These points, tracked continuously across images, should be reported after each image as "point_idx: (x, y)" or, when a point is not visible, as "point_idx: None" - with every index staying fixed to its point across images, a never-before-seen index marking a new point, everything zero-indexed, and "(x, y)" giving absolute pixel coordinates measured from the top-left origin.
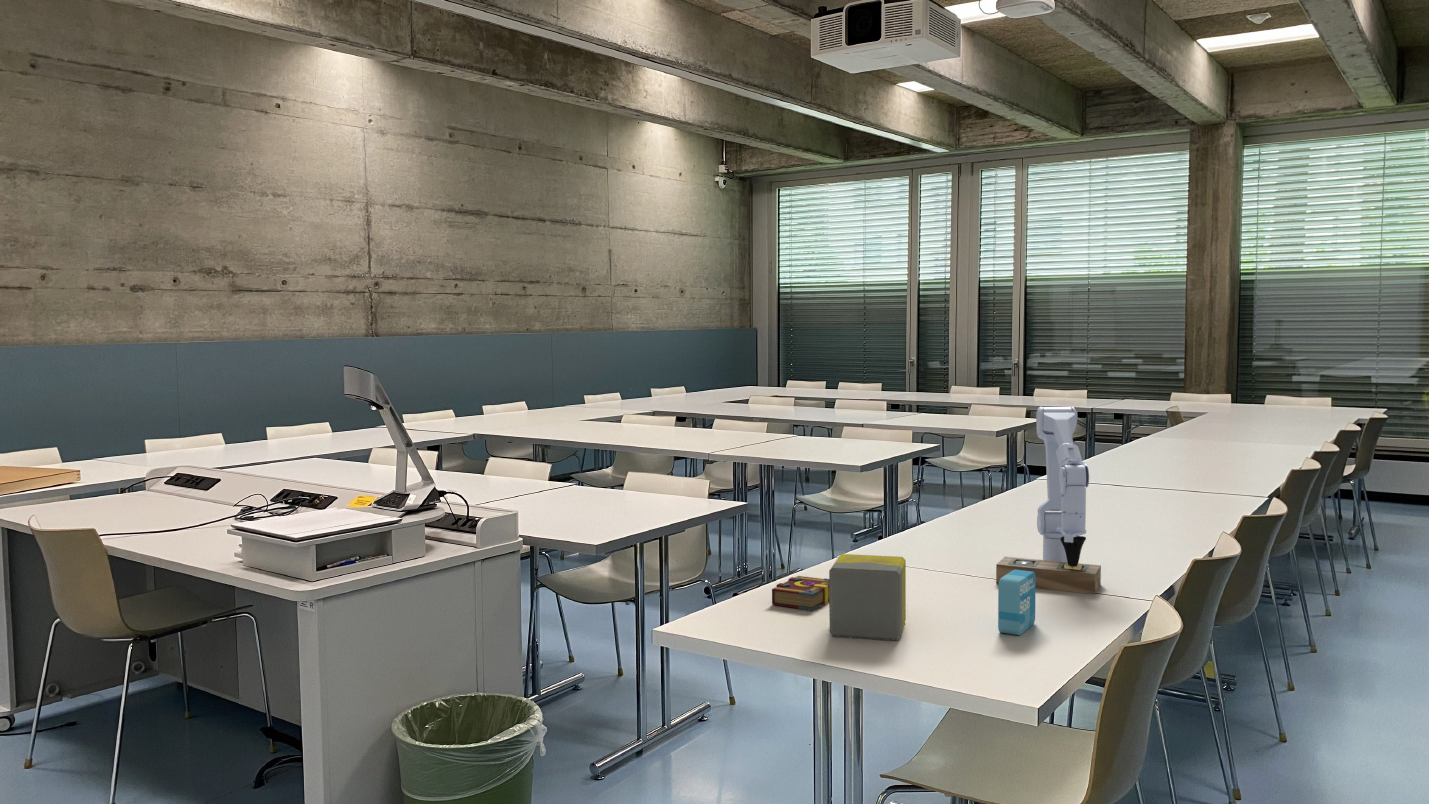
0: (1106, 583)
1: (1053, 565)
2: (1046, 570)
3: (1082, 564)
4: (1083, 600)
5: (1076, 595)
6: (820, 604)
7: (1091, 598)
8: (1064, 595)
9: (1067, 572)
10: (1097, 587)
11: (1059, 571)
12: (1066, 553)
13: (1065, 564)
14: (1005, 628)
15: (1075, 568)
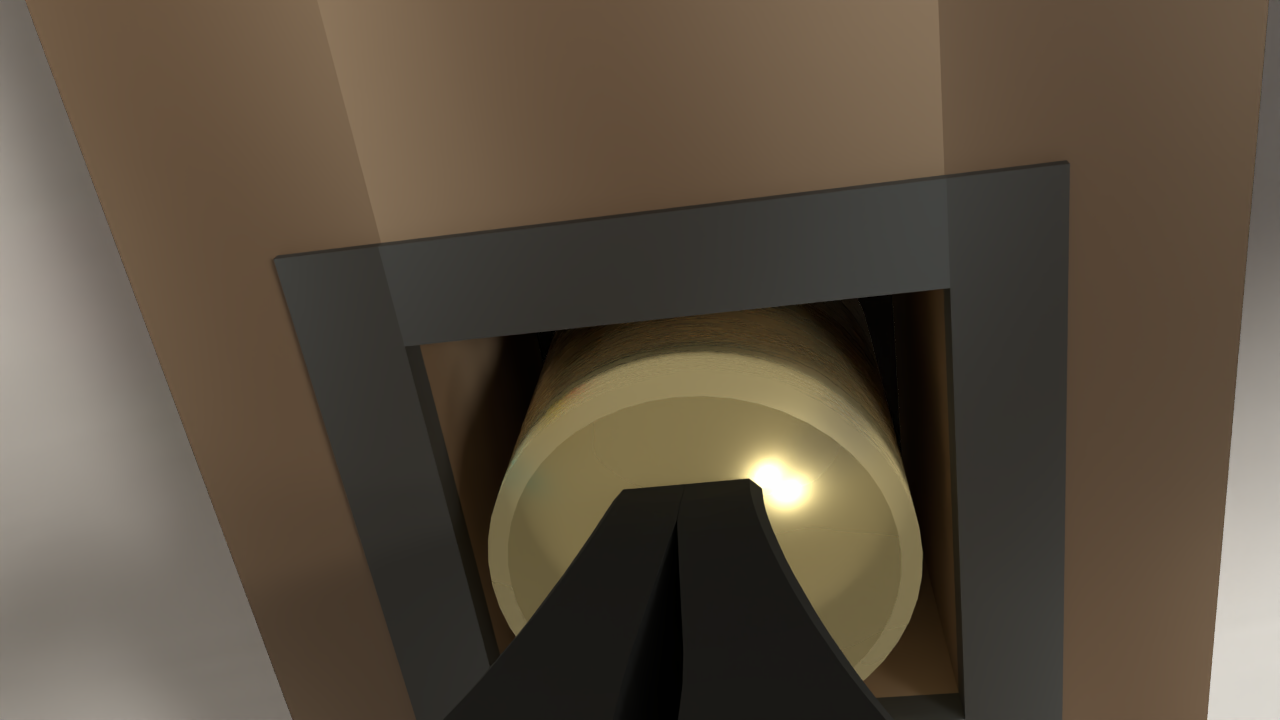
0: (1213, 687)
1: (625, 71)
2: (66, 46)
3: (1123, 642)
4: (46, 634)
5: None
6: None
7: (218, 689)
8: (93, 369)
9: (238, 521)
10: None
11: (178, 365)
12: (481, 697)
13: (674, 408)
14: None
15: None
